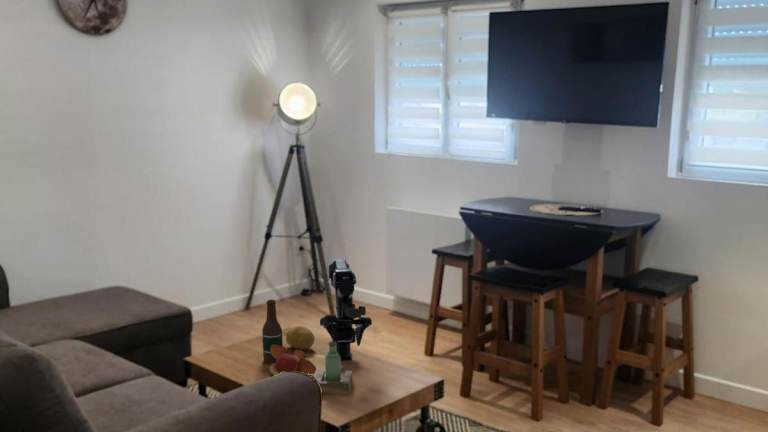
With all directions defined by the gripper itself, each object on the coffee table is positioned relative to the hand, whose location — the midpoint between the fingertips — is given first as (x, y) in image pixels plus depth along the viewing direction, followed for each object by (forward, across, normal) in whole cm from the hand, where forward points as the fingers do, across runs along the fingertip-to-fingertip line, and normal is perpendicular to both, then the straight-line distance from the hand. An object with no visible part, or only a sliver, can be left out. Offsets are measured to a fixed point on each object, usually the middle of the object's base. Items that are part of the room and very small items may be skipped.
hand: (347, 345), depth 256 cm
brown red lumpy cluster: (+7, -13, +20) cm, 24 cm away
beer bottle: (0, -15, +34) cm, 37 cm away
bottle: (+14, -7, 0) cm, 15 cm away
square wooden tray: (+15, -6, 0) cm, 16 cm away
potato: (-6, 0, +39) cm, 40 cm away
